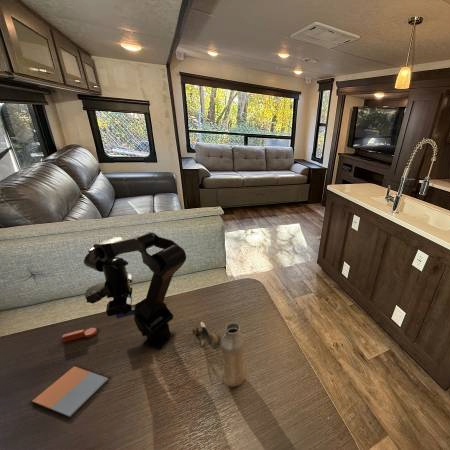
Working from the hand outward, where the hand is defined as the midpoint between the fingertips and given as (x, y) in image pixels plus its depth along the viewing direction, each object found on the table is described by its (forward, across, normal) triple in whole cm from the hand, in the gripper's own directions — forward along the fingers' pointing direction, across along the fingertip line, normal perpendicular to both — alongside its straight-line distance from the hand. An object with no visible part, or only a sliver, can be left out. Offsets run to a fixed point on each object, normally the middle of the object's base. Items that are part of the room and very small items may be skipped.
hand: (125, 312), depth 85 cm
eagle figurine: (+5, +20, +22) cm, 31 cm away
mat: (+5, +20, -12) cm, 24 cm away
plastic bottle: (+5, +37, +27) cm, 46 cm away
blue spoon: (+1, 0, +1) cm, 2 cm away
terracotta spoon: (+5, 0, -13) cm, 14 cm away
